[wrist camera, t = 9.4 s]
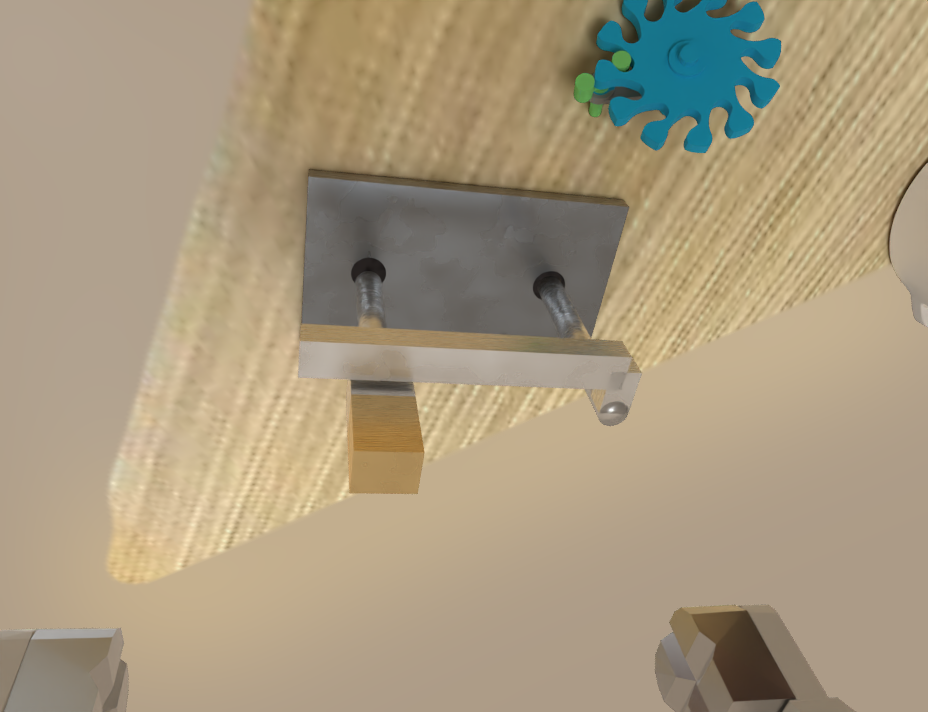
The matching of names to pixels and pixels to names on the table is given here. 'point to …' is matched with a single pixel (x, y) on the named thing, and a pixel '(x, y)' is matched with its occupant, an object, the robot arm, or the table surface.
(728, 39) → the gear
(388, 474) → the leg
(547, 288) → the divider frame
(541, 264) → the bolt plate
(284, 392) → the table surface
